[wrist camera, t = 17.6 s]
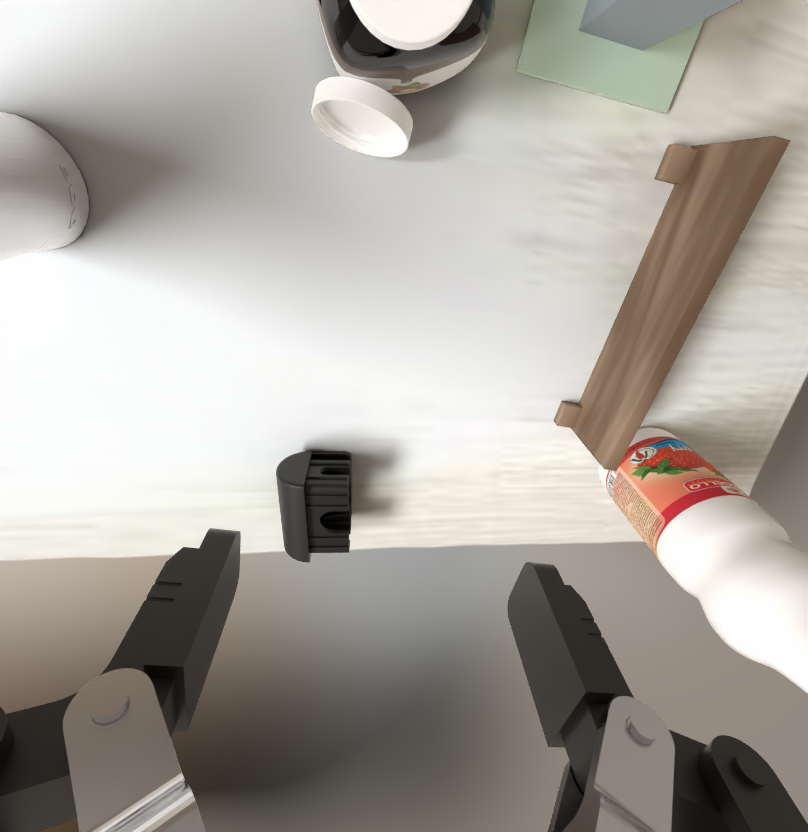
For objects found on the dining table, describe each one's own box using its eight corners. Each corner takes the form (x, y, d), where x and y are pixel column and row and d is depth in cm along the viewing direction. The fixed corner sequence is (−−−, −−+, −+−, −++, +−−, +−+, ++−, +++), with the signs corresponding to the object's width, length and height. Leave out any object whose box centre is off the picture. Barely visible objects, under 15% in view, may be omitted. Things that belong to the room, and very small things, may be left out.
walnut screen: (552, 423, 45) (585, 466, 38) (670, 140, 34) (748, 128, 27) (595, 429, 46) (634, 473, 39) (725, 155, 34) (815, 147, 27)
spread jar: (466, -63, 28) (520, -211, 17) (479, 142, 33) (526, 122, 23) (285, -27, 28) (233, -152, 18) (327, 170, 33) (306, 162, 23)
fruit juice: (579, 480, 49) (782, 772, 25) (627, 413, 45) (925, 681, 21) (644, 501, 52) (889, 788, 27) (695, 439, 48) (1038, 709, 23)
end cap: (283, 446, 45) (269, 486, 39) (351, 447, 46) (347, 486, 40) (290, 518, 50) (279, 564, 44) (351, 518, 50) (348, 563, 44)
